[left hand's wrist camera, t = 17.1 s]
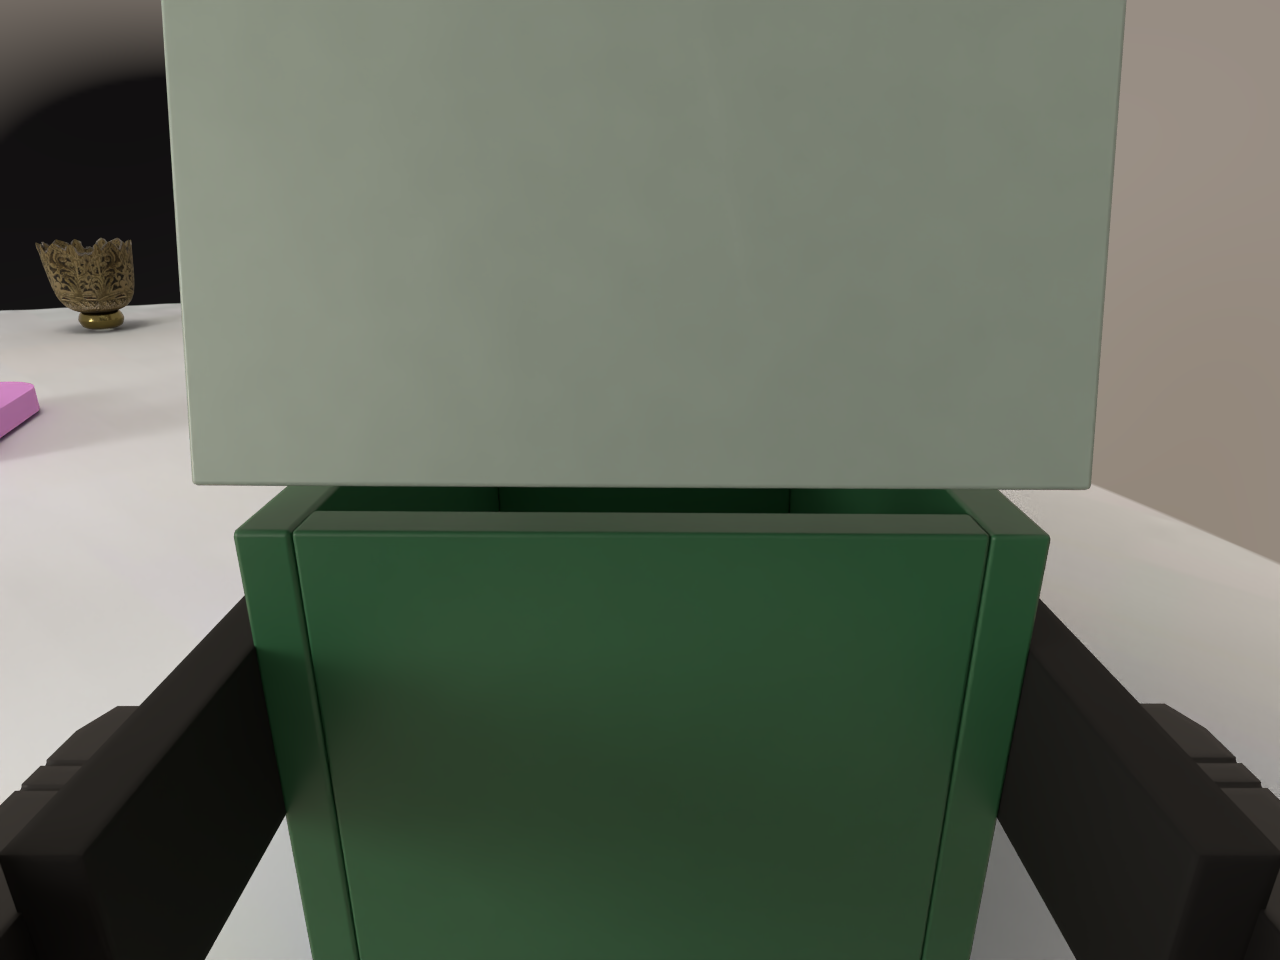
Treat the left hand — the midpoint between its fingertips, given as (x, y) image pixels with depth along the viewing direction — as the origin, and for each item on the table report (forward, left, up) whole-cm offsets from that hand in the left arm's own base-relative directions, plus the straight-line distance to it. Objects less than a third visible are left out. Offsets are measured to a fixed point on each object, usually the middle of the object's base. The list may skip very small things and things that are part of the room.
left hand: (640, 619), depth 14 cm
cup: (+84, +4, -6) cm, 84 cm away
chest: (+3, -2, -6) cm, 7 cm away
